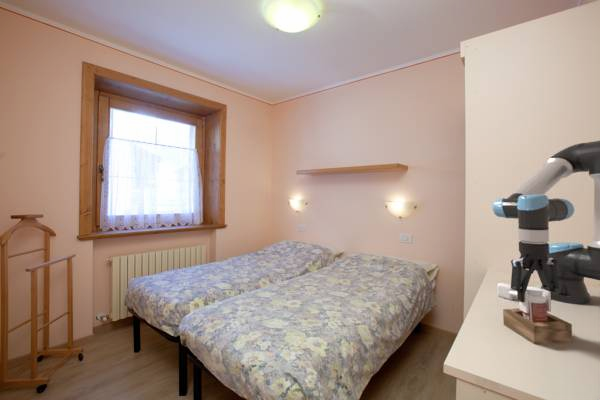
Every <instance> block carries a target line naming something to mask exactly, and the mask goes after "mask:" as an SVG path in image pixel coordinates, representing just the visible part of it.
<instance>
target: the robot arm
mask: <svg viewBox="0 0 600 400" xmlns="http://www.w3.org/2000/svg"><path fill="white" fill-rule="evenodd" d="M582 172H583V173H587V172H588V176H589V177H590V178H592V179H593V180H594V181H593V182H594V183H593V184H594V186H593V187H594V189H593V190H594V191H593V194H594V195H593V229H592V231H593V235H592V236H593V237H592V238H593V239H592V242H590V243H588V244H587V245H586V247H587V248H585V246H584V244H583V243H580V242H554V243H553V242H552V243H551V242H550V243H549V241H550V237H549V236H550V233H549V232H550V230H549V223H550V222H561V221H564V220H567V219H570V218H571V217H573V215H574V213H575V206H574V205H573V203H572V202H571V201H570V200H568V199H565V198H557V197H554V198H549V197H548V196H547V195H546V193H548V192H549V190H551V189H552V188H553V187H555V186H556V184H558V183H559V182H560V181H561V180H562V179H565V178H568V177H570V176H571V175H572V174H575V173H582ZM492 211H493V214H494V215H495V216H496V217H498V218H504V219H517V220H518V223H517V224H518V240H519V241H518V252H519V254H520V257H519V259H511V260H510V263H511V278H510V285H511V289H514V290H516V291H517V296H516V298H517V301H518V302H519V303H518V305H519V309H520V310H522V311H523V312H525V313H529V301H528V293H526V289H527V287H529V286H528V285H529V282H530V280H531V276H532V274H534V272H535V271H536V273H537V276H538V278H539V280H540V283H541V286H540V289H542V291H543V295H542V296H543V297H545V299H546V304H547V313H550V312H552V301H553V300H555V301H558V302H563V303H568V304H578V305H581V304H582V305H583V304H585V305H586V304H589V303H591V300H592V298H591V294H590V293H589V292H588V288H587V285H586V283H585V278H586V279H592V280H596V281H600V140H596V141H590V142H581V143H577V144H573V145H570V146H568V147H565V148H563V149H561V150H560V151H558V152H557V153H556V152H555V154H553V155H552V156H551V157H549V158H548V159H547V160H546V161H544V163H543V164H542V167H541V168H540V169H539V170H538V171H537V172H536V173H535V174H534V175H532V176H531V177H530V178H529V179H528V180H527V181H525V182H524V183H523V184H522V185H521V186H520V187H519V188H518V189H516V190H515V191H514V192H513V193H512V194H510V195H509V196H508V197H507V198H505V197H503V198H498V199H495V201H493V204H492Z"/></svg>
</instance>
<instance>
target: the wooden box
mask: <svg viewBox="0 0 600 400" xmlns="http://www.w3.org/2000/svg"><path fill="white" fill-rule="evenodd" d="M502 313H503V314H502V315H503V316H502V317H503V326H505V327H507V328H508V329H510V330H511V331H513V332H514V333H516V334H518V335H520V336H521V338H523V339H526V340H527V341H529V342H530V343H532V344H533V345H539V344H541V345H542V344H555V343H572V342H573V325H572V323H570V322H568V321H566V320H564V319H562V318H560V317H558V316H555V315H553V314H551V313H550V312H547V318H548V322H542V323H533V322H532V321H530V320H528V319H526V318H524V317H523V311H522V310H520V309H519V308H504V309H502Z"/></svg>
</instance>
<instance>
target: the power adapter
mask: <svg viewBox="0 0 600 400" xmlns="http://www.w3.org/2000/svg"><path fill="white" fill-rule="evenodd" d="M496 291H497V294H496V295H497V296H498V297H500V298H503V299H505V298H506V300H510V301H513V300H515V299H517V291H516V290H514V289H511V283H505V282H499V283H497V285H496Z"/></svg>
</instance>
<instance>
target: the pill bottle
mask: <svg viewBox="0 0 600 400" xmlns="http://www.w3.org/2000/svg"><path fill="white" fill-rule="evenodd" d="M526 293H528V301H529V313H525V312H523V317H524V318H526V319H528V320H530V321H532V322H533V323H542V322H548V318H547V313H548V311H547V304H546V299H545V297H543V296H542V295H543V291H542V289H541V287H536V286H527V289H526Z"/></svg>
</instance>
